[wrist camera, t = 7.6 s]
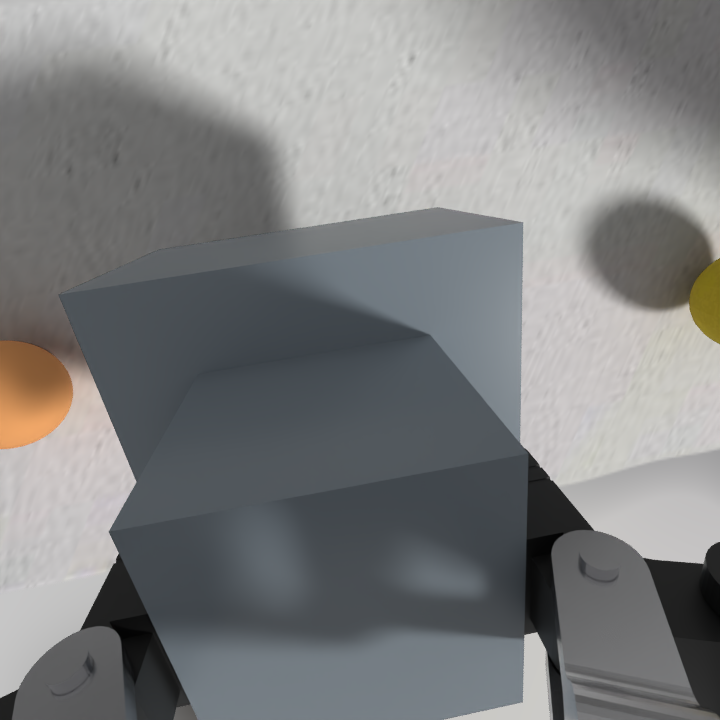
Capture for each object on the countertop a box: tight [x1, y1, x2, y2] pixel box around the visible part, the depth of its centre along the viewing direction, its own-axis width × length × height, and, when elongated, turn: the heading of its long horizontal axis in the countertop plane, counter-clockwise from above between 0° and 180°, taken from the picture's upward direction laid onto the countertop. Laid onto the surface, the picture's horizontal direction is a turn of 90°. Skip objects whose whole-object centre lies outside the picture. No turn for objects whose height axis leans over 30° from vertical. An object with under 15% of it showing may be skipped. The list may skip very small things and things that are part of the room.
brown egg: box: [0, 341, 73, 449], centre depth 20 cm, size 5×5×5 cm
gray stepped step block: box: [58, 207, 528, 720], centre depth 12 cm, size 10×10×12 cm
